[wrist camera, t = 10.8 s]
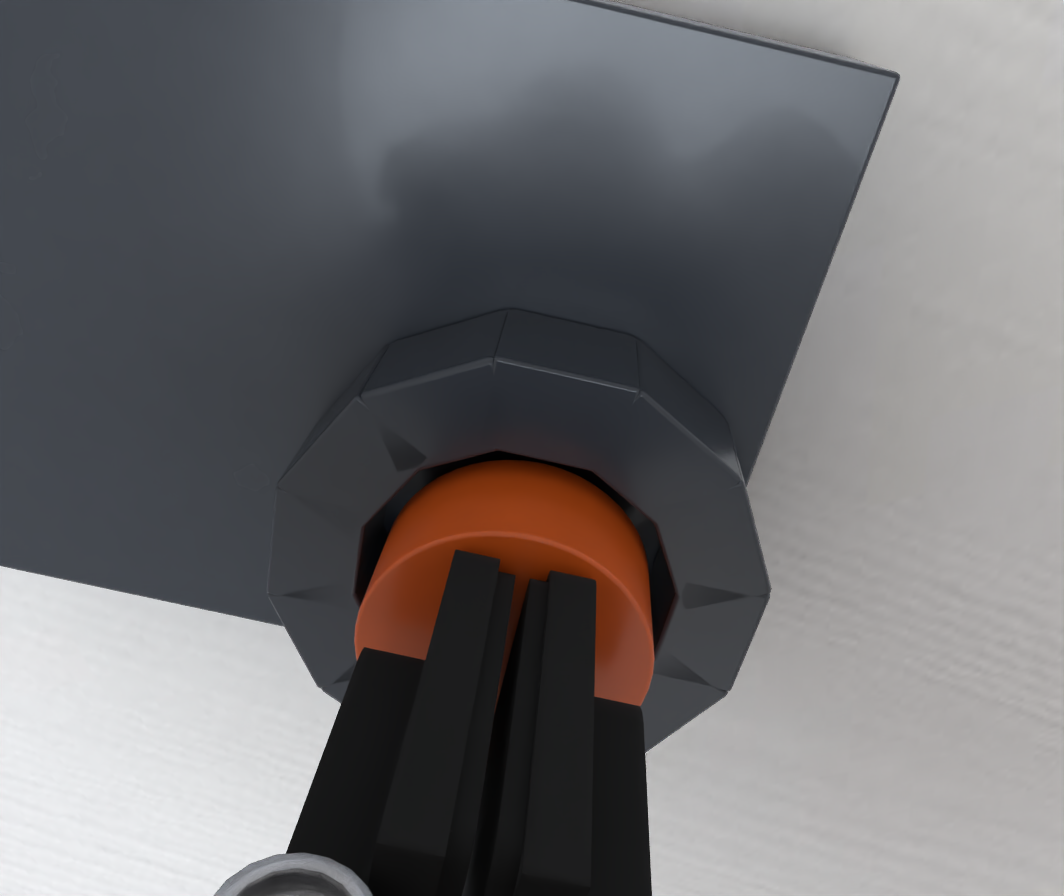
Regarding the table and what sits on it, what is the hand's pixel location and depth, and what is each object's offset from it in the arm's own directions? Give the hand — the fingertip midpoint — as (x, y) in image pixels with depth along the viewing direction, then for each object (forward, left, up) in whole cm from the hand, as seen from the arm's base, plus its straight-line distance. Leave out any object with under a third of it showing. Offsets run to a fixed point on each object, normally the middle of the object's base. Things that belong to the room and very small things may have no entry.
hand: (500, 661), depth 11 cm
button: (0, 0, -2) cm, 2 cm away
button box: (+3, -2, -5) cm, 6 cm away
